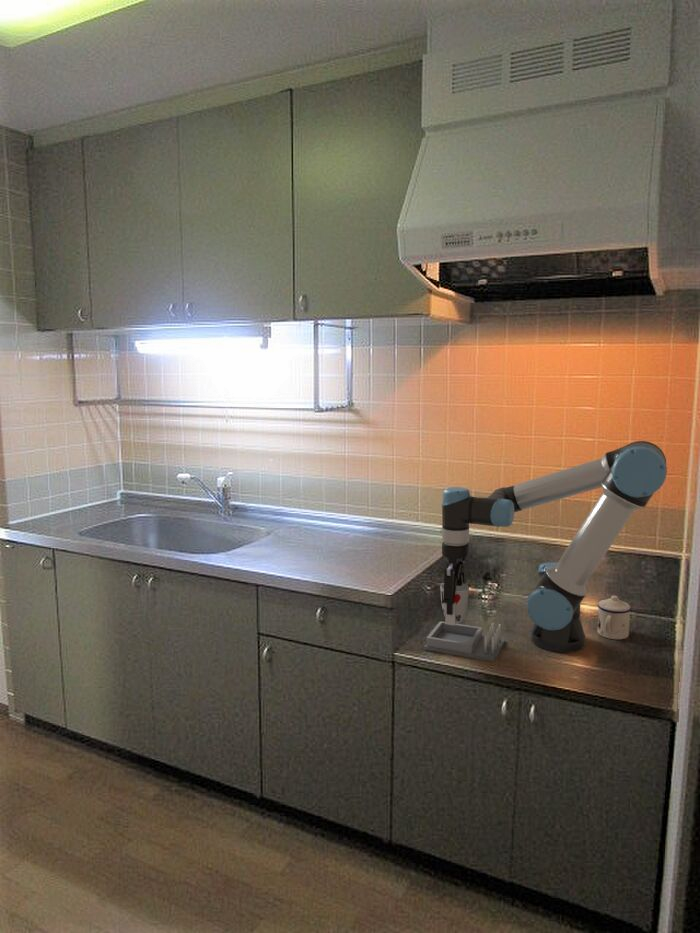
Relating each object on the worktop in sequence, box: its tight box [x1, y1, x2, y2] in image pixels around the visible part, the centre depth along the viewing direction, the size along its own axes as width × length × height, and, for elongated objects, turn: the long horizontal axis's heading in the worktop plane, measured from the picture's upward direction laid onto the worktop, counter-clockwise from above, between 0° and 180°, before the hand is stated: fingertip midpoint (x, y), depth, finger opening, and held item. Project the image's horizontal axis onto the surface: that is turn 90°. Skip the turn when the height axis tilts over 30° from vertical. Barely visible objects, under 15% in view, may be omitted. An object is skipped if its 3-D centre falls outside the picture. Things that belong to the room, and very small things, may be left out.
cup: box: [439, 582, 470, 624], centre depth 188 cm, size 8×8×10 cm
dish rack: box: [423, 621, 506, 662], centre depth 189 cm, size 20×14×6 cm
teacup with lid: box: [597, 595, 632, 640], centre depth 193 cm, size 12×9×12 cm
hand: (454, 618), depth 189 cm, fingers closed on cup, 8 cm apart
